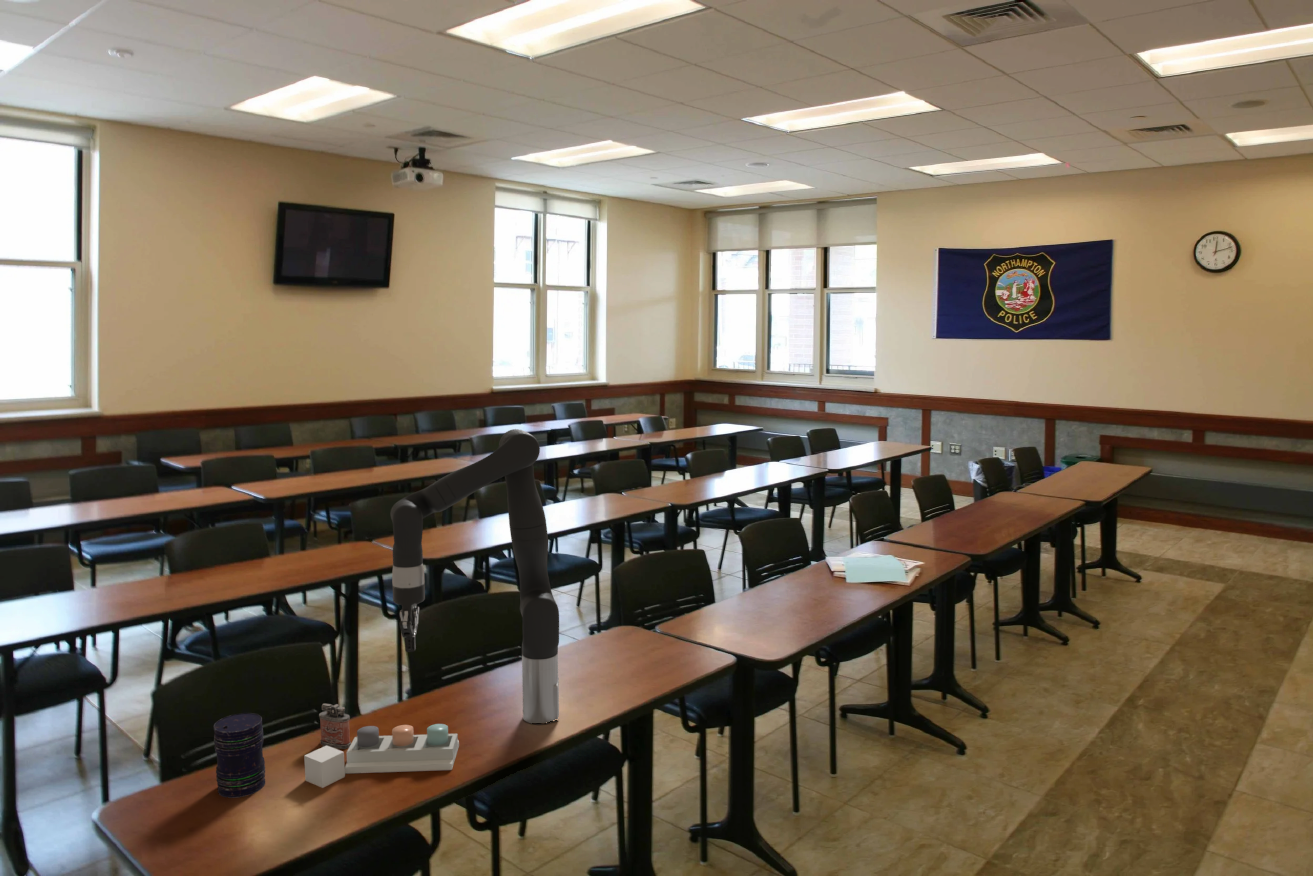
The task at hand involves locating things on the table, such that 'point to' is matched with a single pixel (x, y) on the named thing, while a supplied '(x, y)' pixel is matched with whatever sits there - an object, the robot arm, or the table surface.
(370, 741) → the charcoal button
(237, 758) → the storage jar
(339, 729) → the lighter
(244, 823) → the table surface
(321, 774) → the white cube
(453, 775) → the table surface
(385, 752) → the button board
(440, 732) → the teal button
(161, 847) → the table surface
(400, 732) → the terracotta button
